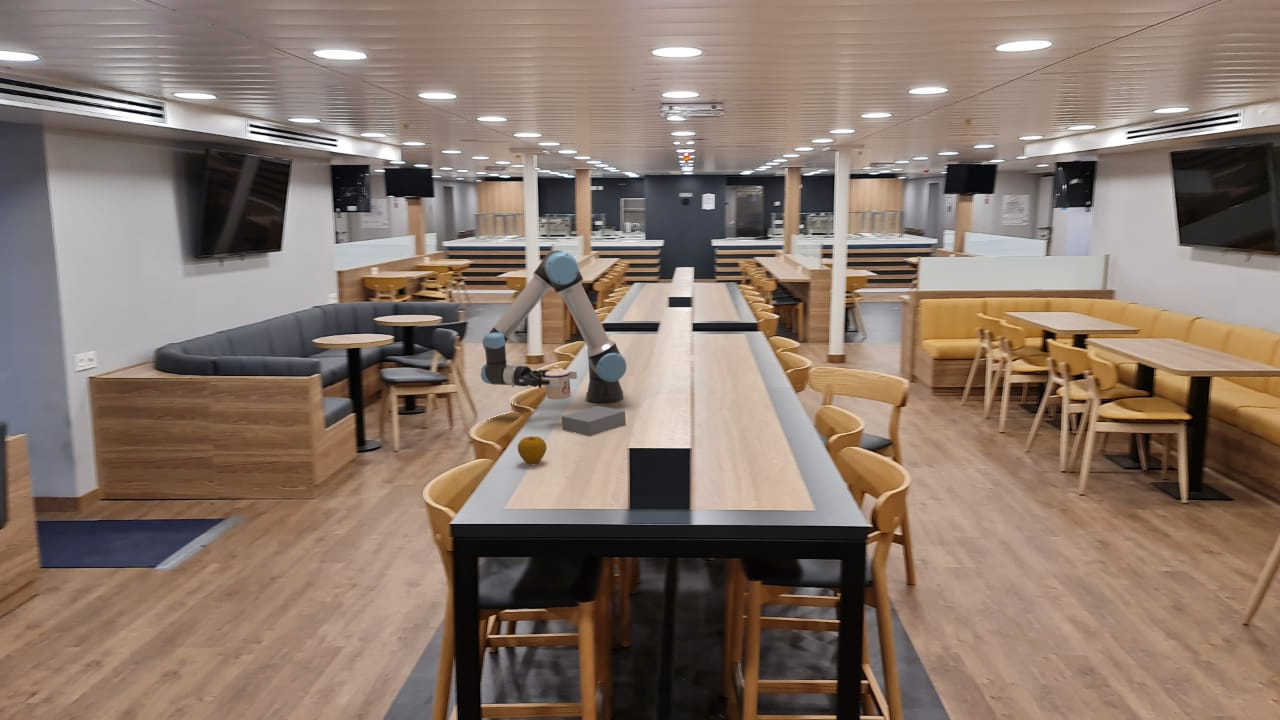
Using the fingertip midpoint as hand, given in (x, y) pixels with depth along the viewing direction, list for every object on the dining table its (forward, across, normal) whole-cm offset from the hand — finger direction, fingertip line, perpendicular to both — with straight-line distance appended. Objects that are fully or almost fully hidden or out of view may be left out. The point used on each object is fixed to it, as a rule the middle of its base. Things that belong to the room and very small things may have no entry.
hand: (567, 378), depth 319 cm
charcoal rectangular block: (+10, +1, -17) cm, 20 cm away
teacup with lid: (-4, 0, -7) cm, 8 cm away
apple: (+14, +44, -17) cm, 50 cm away
